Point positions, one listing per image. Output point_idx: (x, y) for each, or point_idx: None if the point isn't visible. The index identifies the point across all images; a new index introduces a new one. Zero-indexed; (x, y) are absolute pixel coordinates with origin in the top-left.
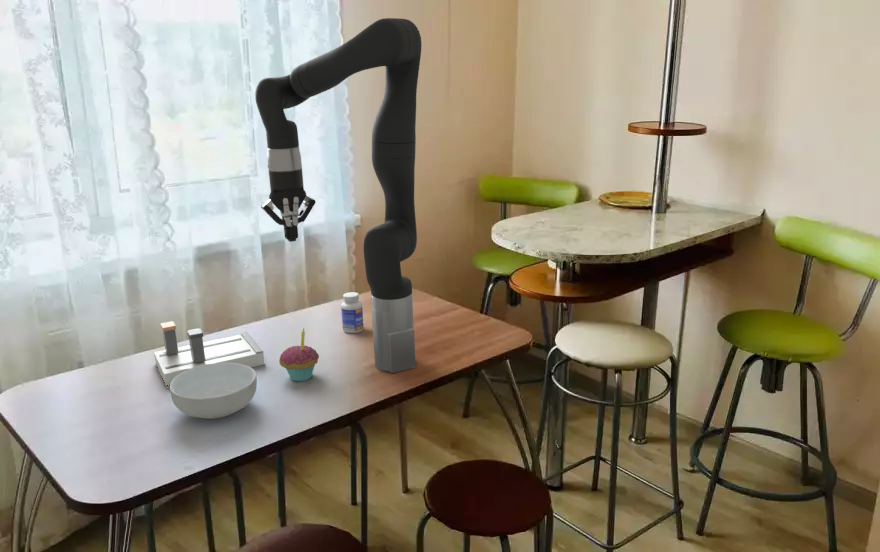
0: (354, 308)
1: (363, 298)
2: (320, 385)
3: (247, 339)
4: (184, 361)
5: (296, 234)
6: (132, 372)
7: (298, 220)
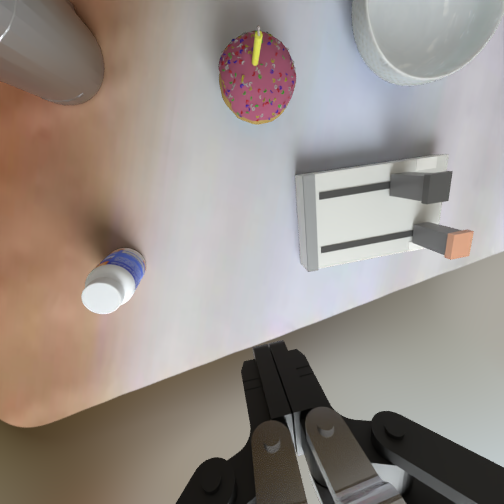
0: (106, 265)
1: (91, 393)
2: (224, 29)
3: (315, 238)
4: None
5: (251, 377)
6: (450, 224)
7: (244, 475)
